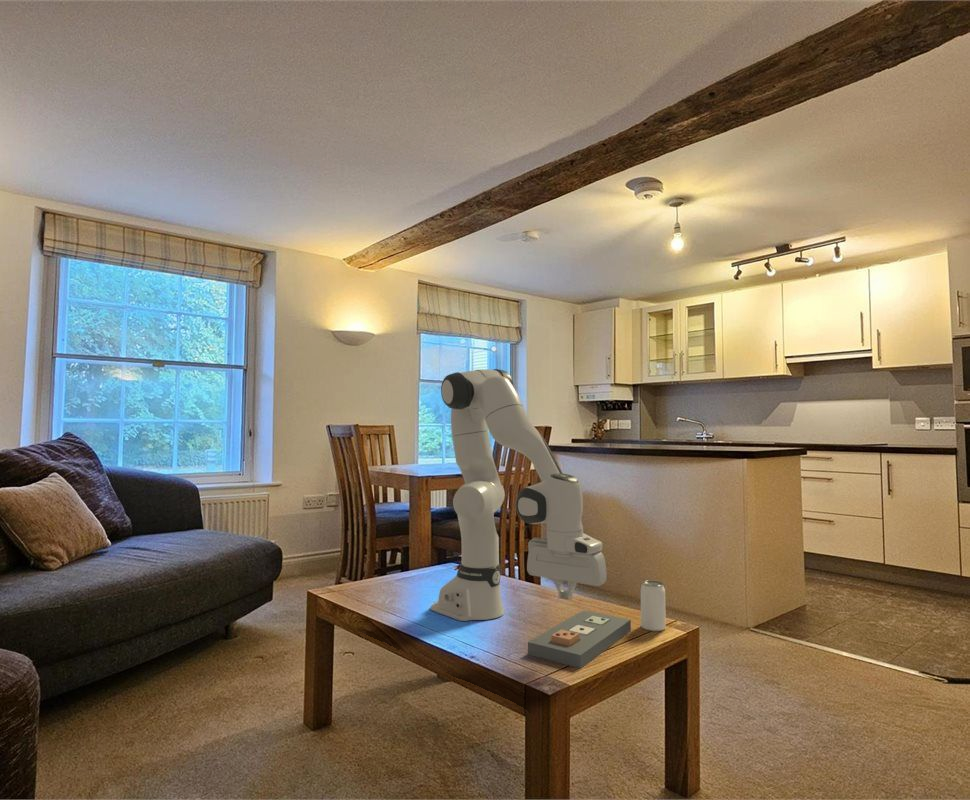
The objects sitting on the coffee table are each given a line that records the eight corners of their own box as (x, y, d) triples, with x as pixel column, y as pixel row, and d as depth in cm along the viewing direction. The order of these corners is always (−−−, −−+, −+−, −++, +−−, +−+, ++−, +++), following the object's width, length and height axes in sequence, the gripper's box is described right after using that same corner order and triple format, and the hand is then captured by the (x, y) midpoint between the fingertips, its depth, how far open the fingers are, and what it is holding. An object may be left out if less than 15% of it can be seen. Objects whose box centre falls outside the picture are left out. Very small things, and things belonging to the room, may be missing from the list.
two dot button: (584, 632, 156) (584, 619, 157) (592, 626, 160) (592, 615, 161) (601, 636, 153) (601, 623, 154) (609, 630, 158) (609, 618, 158)
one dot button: (568, 642, 149) (568, 629, 149) (577, 636, 153) (577, 624, 153) (586, 646, 146) (586, 633, 146) (595, 640, 150) (595, 627, 150)
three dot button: (551, 647, 142) (551, 634, 142) (561, 641, 146) (561, 628, 146) (569, 652, 139) (569, 638, 139) (579, 646, 143) (579, 632, 143)
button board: (527, 654, 142) (527, 641, 142) (583, 621, 166) (583, 610, 166) (580, 668, 133) (580, 655, 134) (630, 631, 158) (630, 619, 158)
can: (646, 622, 165) (646, 578, 165) (669, 627, 161) (668, 582, 161) (636, 628, 160) (636, 583, 160) (659, 633, 156) (659, 587, 156)
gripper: (521, 538, 147) (522, 594, 146) (597, 548, 135) (598, 609, 134) (534, 534, 152) (535, 588, 151) (608, 543, 140) (609, 602, 140)
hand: (565, 598), depth 143 cm, fingers closed
